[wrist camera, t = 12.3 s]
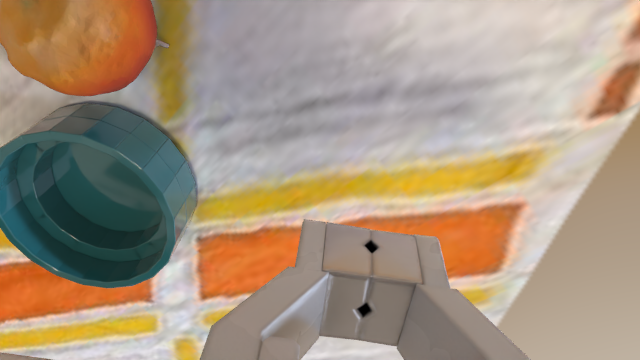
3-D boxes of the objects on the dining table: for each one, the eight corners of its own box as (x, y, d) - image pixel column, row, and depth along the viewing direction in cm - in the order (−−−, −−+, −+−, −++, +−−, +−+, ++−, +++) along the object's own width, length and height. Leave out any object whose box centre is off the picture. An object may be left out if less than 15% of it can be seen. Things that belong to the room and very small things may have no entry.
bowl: (16, 88, 31) (-39, 118, 27) (196, 113, 31) (169, 147, 27) (51, 232, 37) (10, 275, 33) (200, 253, 37) (179, 298, 33)
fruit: (113, 126, 30) (-7, 114, 23) (75, 17, 31) (-55, -31, 23) (213, 71, 28) (116, 37, 20) (169, -46, 28) (59, -122, 21)
